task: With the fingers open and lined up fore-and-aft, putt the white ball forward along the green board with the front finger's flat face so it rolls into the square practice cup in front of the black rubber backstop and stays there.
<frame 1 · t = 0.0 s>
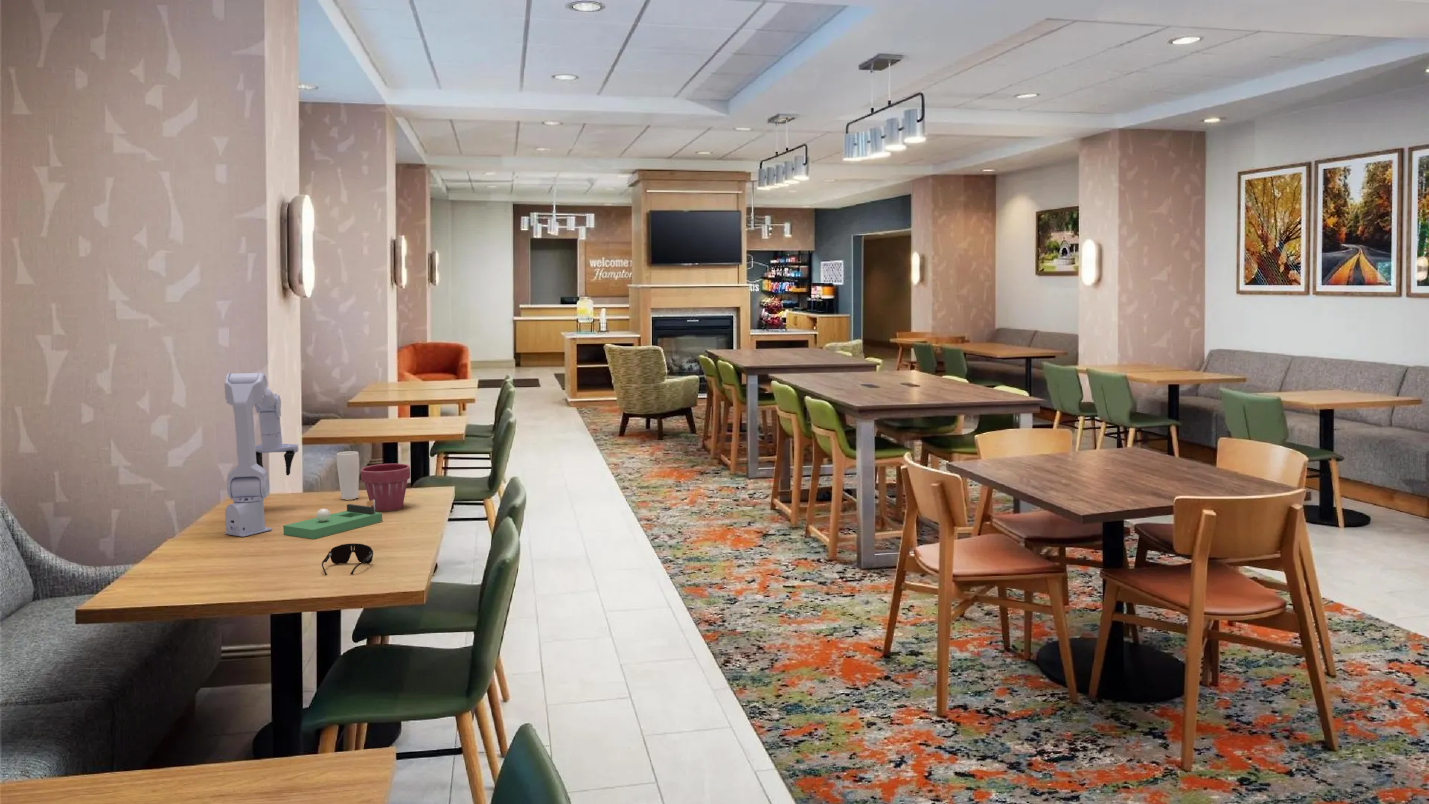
hand: (275, 474, 316), 11 cm above the table, tool pointing down, fingers open, 7 cm apart
green board: (334, 527, 290), on the table
drinking glass: (349, 499, 331), on the table
ball: (323, 515, 287), point 4 cm above the table, touching green board
plant pot: (387, 509, 316), on the table
sunglasses: (346, 570, 247), on the table
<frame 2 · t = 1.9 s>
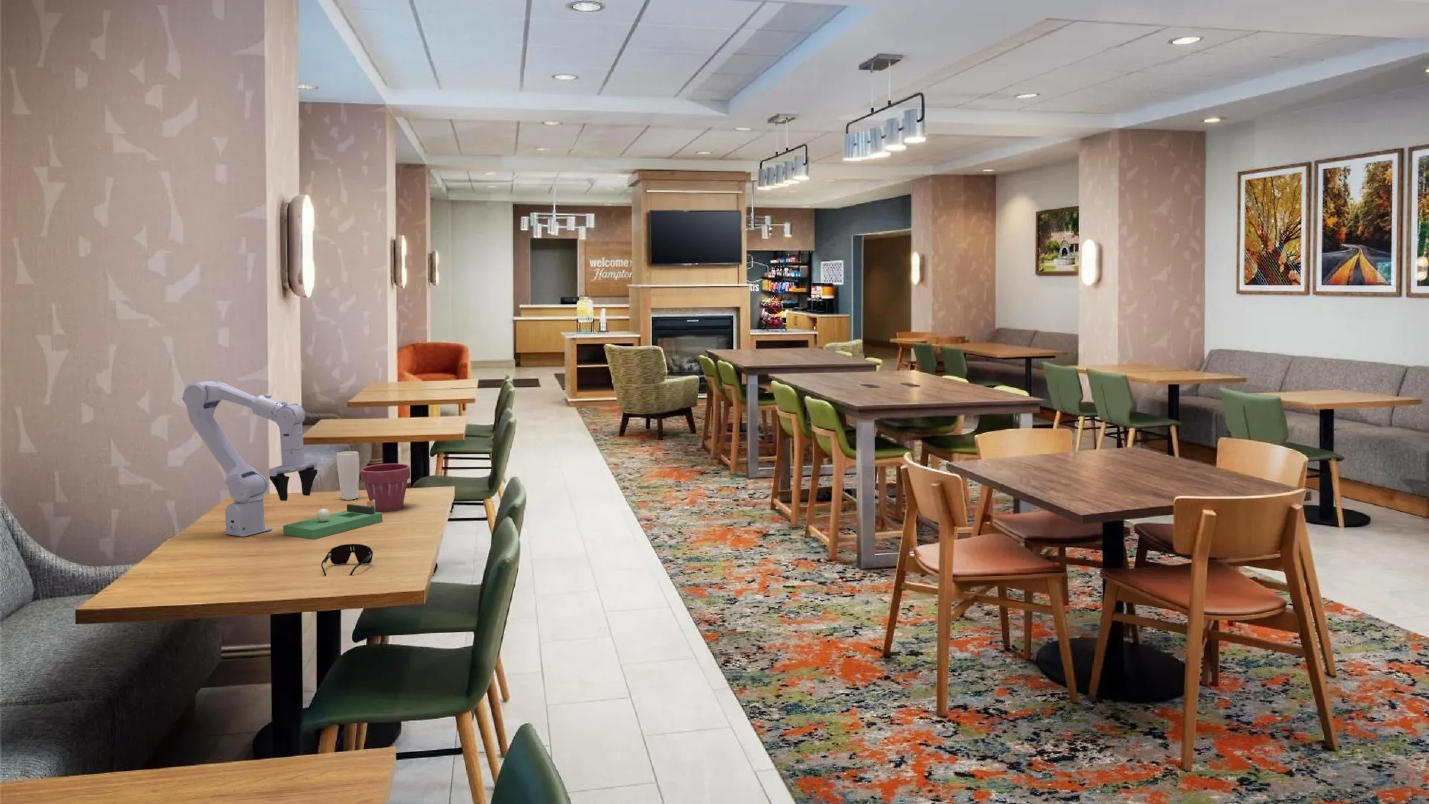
hand: (295, 498, 284), 10 cm above the table, tool pointing down, fingers open, 7 cm apart
nothing on the table moved.
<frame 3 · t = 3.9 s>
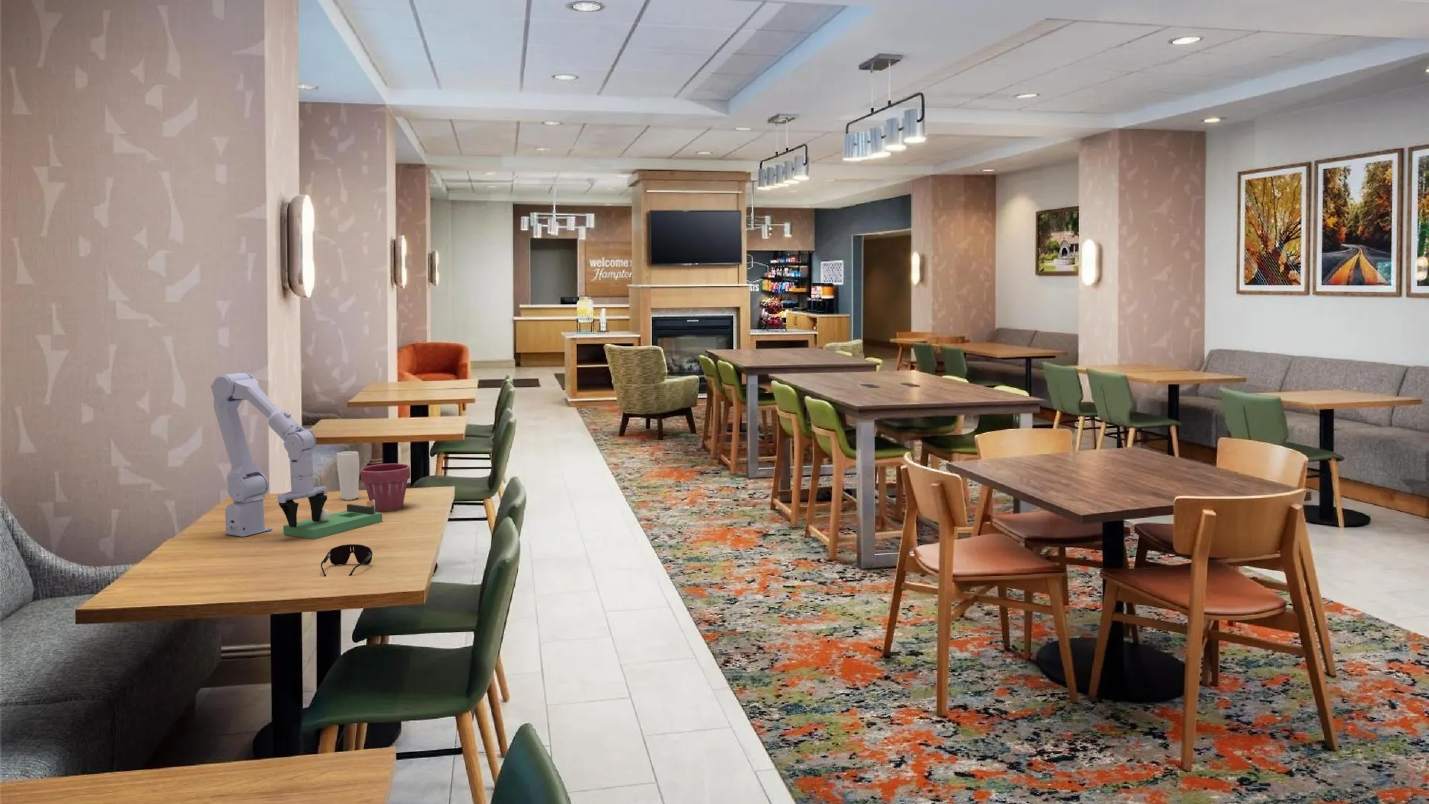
hand: (304, 524, 281), 3 cm above the table, tool pointing down, fingers open, 7 cm apart
ball: (323, 515, 287), point 4 cm above the table, touching gripper, green board
everything else where it was.
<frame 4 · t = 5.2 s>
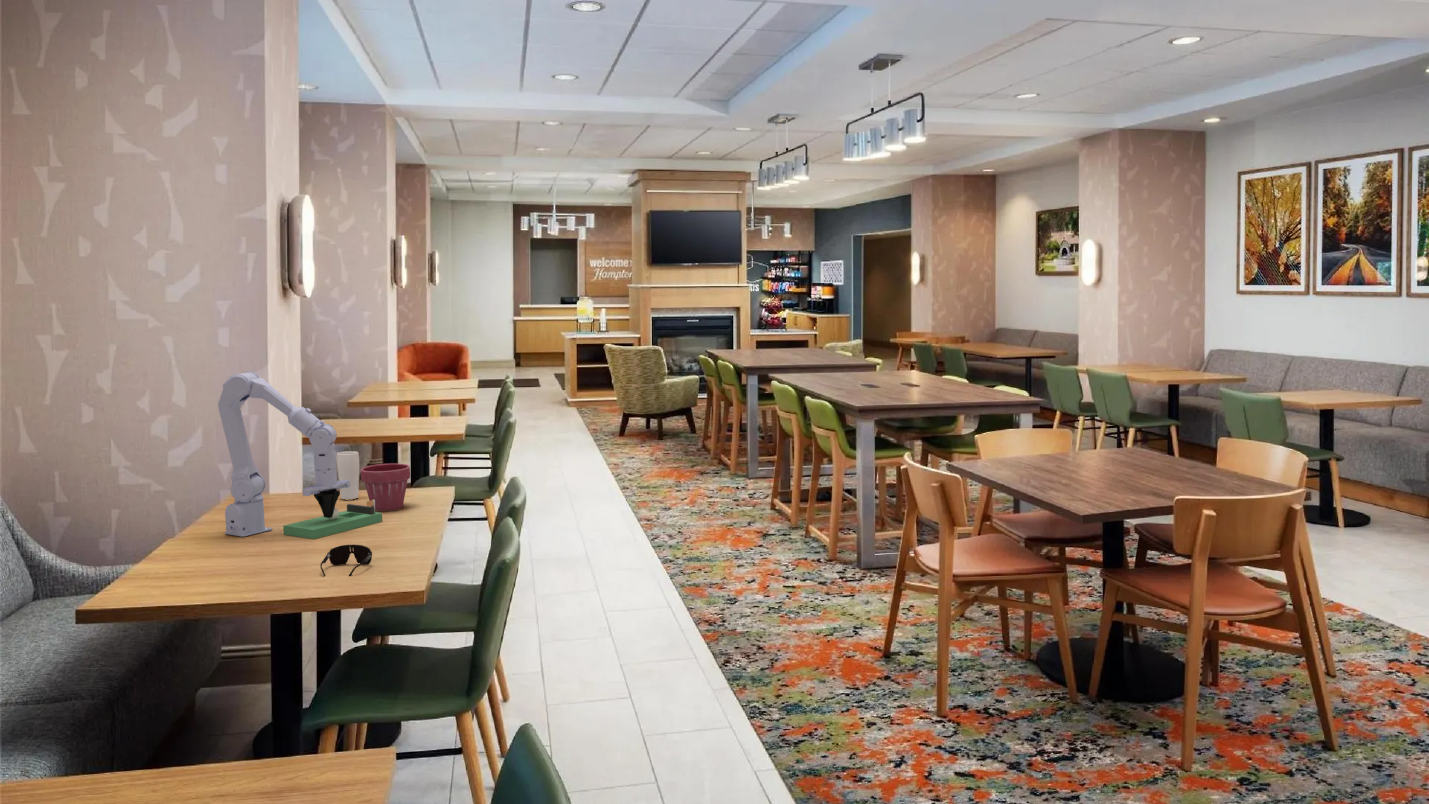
hand: (328, 517, 288), 4 cm above the table, tool pointing down, fingers closed, pressing on ball
ball: (332, 513, 289), point 4 cm above the table, tilted 95°, touching gripper, green board
everything else where it was.
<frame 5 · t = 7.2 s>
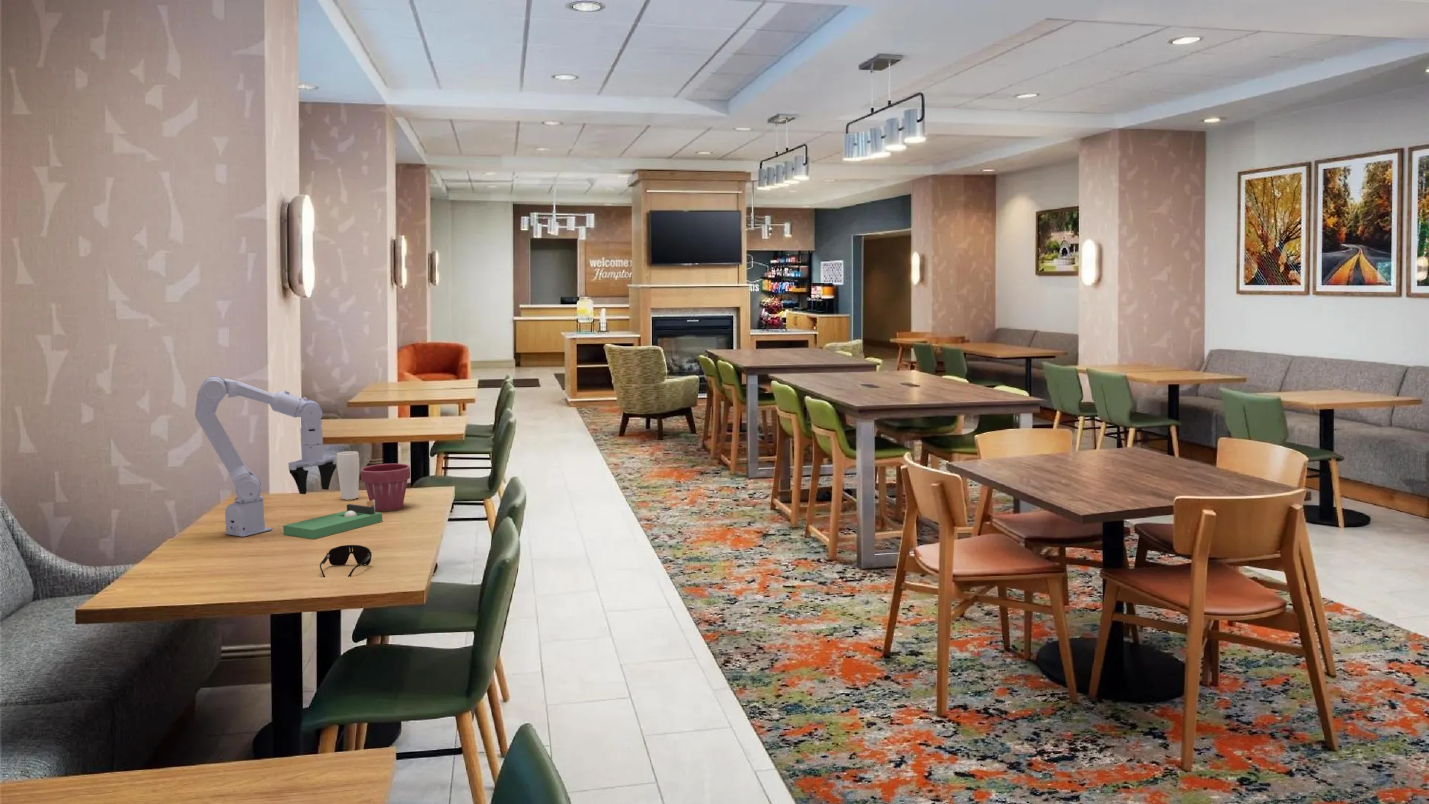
hand: (314, 491, 292), 10 cm above the table, tool pointing down, fingers open, 7 cm apart
ball: (350, 516, 296), point 2 cm above the table, tilted 17°
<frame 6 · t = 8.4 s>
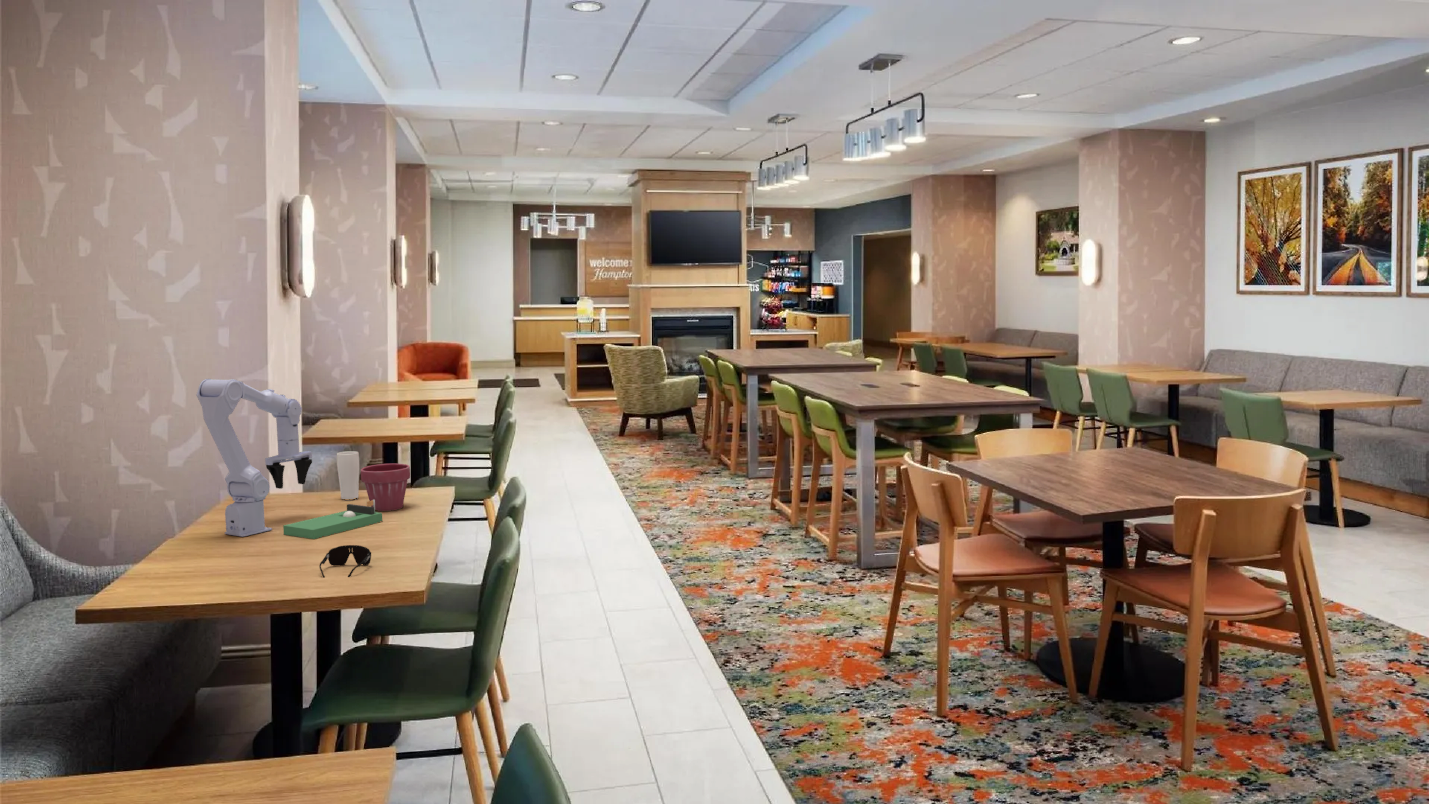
hand: (290, 486, 301), 10 cm above the table, tool pointing down, fingers open, 7 cm apart
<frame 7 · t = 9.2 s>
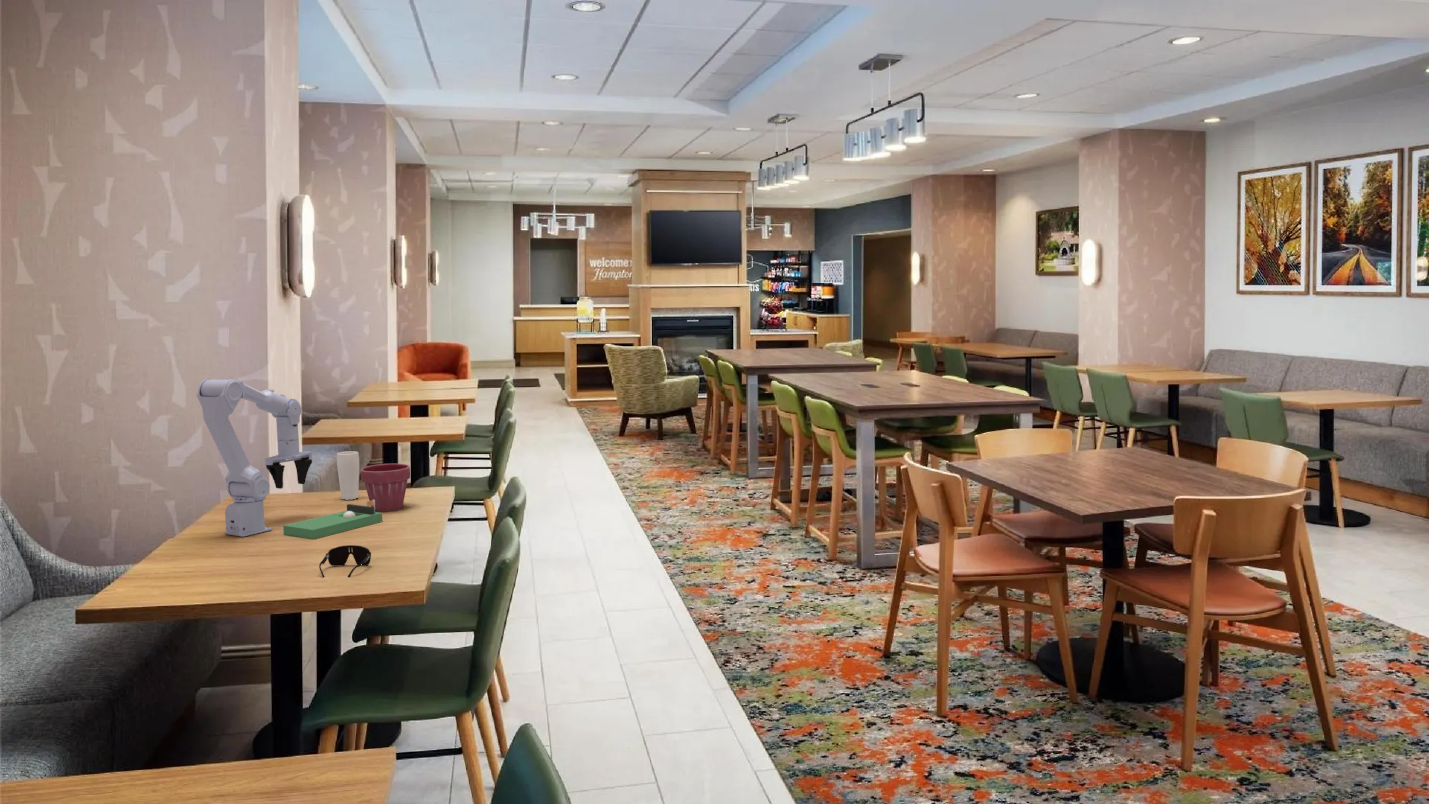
hand: (290, 486, 301), 10 cm above the table, tool pointing down, fingers open, 7 cm apart
at the end: ball 0.6 cm from the target spot on the green board, point 1.8 cm above the green board's base; ball point 1.8 cm above the table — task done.
